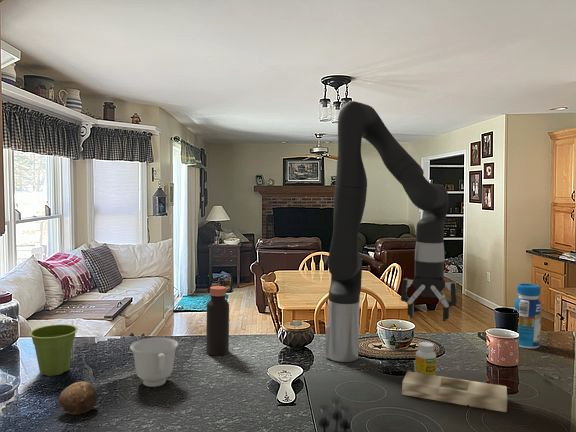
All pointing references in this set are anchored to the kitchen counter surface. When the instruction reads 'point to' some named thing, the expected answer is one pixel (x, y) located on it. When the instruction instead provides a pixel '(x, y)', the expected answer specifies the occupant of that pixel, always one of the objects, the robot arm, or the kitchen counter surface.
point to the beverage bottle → (528, 315)
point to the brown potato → (78, 398)
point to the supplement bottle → (425, 359)
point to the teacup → (154, 359)
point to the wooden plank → (455, 391)
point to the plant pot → (53, 347)
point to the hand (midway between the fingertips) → (428, 319)
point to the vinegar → (217, 322)
